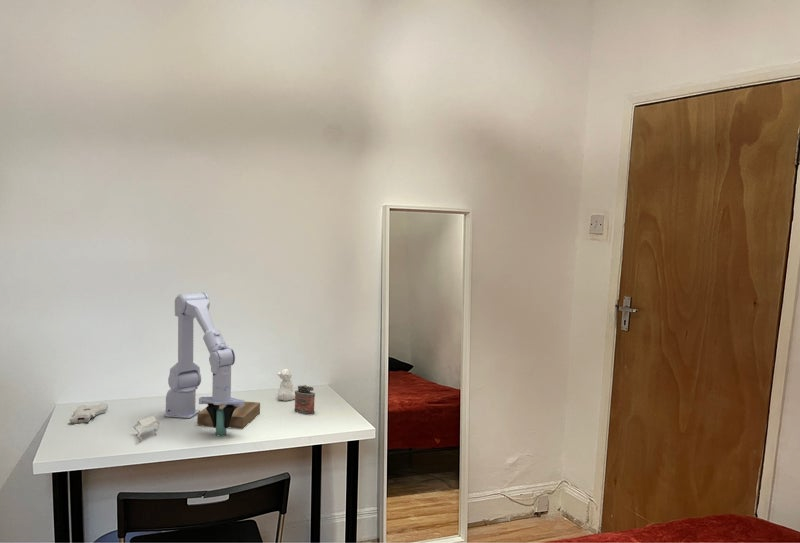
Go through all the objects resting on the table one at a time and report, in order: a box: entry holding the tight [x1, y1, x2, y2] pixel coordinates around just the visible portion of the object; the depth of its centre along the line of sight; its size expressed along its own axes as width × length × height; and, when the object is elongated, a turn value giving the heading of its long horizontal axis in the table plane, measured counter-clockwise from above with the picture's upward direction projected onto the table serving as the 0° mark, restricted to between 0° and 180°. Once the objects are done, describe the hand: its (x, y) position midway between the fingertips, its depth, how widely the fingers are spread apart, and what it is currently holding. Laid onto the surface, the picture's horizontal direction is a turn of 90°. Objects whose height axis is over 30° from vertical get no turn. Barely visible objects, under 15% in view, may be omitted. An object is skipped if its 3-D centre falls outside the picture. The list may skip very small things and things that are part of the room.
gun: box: [69, 402, 109, 424], centre depth 206 cm, size 18×4×10 cm
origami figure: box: [132, 415, 161, 443], centre depth 189 cm, size 12×8×5 cm
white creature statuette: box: [276, 368, 295, 402], centre depth 233 cm, size 10×9×12 cm
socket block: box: [196, 400, 261, 429], centre depth 208 cm, size 16×16×4 cm
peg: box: [215, 409, 227, 437], centre depth 193 cm, size 3×3×8 cm
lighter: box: [293, 384, 316, 415], centre depth 218 cm, size 8×3×10 cm, turn 68°
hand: (221, 426), depth 194 cm, fingers closed on peg, 3 cm apart
